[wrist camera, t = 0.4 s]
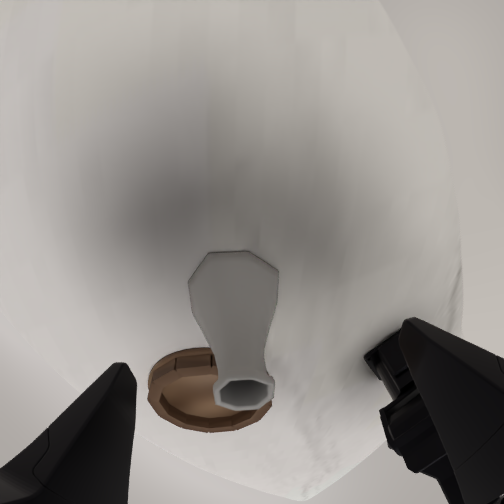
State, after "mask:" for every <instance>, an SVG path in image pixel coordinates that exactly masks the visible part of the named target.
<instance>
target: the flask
mask: <svg viewBox="0 0 504 504" xmlns="http://www.w3.org/2000/svg"><path fill="white" fill-rule="evenodd" d="M278 278H279V271H278V270H276V269H275V268H273V267H272V266H270V265H269V264H267V263H265V262H264V261H262V260H261V259H259V258H258V257H256V256H254V255H253V254H251V253H250V252H229V253H208V255H207V256H206V257H205V259H204V260H203V262H202V263H201V264H200V266H199V267H198V269H197V270H196V271H195V273H194V274H193V276H192V277H191V278H190V280H189V281H188V286H189V293H190V301H191V308H192V313H193V315H194V317H195V319H196V321H197V323H198V325H199V326H200V328H201V330H202V332H203V334H204V336H205V338H206V340H207V342H208V344H209V346H210V348H211V350H212V352H213V354H214V356H215V360H216V364H217V368H218V380H217V381H216V382H215V383H214V385H213V394H214V399H215V405H218V406H221V407H225V408H228V409H231V410H234V411H242V410H255V409H260V408H261V407H262V406H264V405H265V404H266V403H268V402H269V401H270V400H272V399H273V398H274V389H275V380H274V379H273V377H272V376H269V375H268V374H267V372H266V366H265V360H264V348H265V344H266V341H267V337H268V333H269V329H270V325H271V322H272V318H273V315H274V312H275V309H276V305H277V296H278Z"/></svg>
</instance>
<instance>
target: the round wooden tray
mask: <svg viewBox="0 0 504 504" xmlns="http://www.w3.org/2000/svg"><path fill="white" fill-rule="evenodd" d="M266 372H267V371H266ZM267 374H268V373H267ZM217 380H218V368H217V364H216V360H215V356H214V354H213V352H212V350H211V348H192V349H186V350H182V351H178V352H175V353H172V354H170V355H168V356H166V357H164V358H162V359H161V360H160V361H158V362H157V363H156V364H155V365H154V367H153V368H152V370H151V372H150V375H149V379H148V389H149V393H148V398H147V399H148V402H149V403H150V405H151V406H152V407H153V409H154V410H155V412H156V413H157V414H158V416H160V417H161V418H163V419H165V420H167V421H169V422H171V423H172V424H174V425H176V426H178V427H180V428H181V427H182V428H184V429H189V430H195V431H200V432H206V433H208V432H210V433H214V432H225V431H235V430H239V429H241V428H244V427H246V426H248V425H251V424H253V423H255V422H258V421H259V420H261V418H262V417H263V416H264V415H265V414H266V413H267V411H268V410H269V409H270V408H271V407H272V400H270V401H269V402H268V403H266V404H265V405H264V406H262V407H261V408H260V409H255V410H242V411H234V410H231V409H228V408H225V407H221V406H218V405H215V399H214V394H213V385H214V383H215V382H216V381H217Z"/></svg>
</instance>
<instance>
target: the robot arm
mask: <svg viewBox="0 0 504 504" xmlns="http://www.w3.org/2000/svg"><path fill="white" fill-rule="evenodd" d="M364 360H365V361H366V363H367V364H368V365H369V367H370V368H371V369H372V371H373V372H374V373H375V375H376V376H377V377H378V379H379V380H382V381H383V383H384V385H385V387H386V388H387V390H388V392H389V394H390V396H391V398H392V399H393V402H391V403H390V404H388V405H387V406H386V407H383V408H382V409H380V410H379V412H380V415H381V416H380V418H381V421H382V425H383V428H384V432H385V435H386V439H387V443H388V447H389V448H390V449H393V450H394V451H395V452H396V453H397V454H398V455H399V456H403V458H404V461H405V463H406V466H407V468H408V469H409V470H411V471H413V472H414V473H419V472H421V473H423V474H426V475H428V476H431V477H433V478H435V479H437V481H438V483H439V485H440V486H441V488H442V491H443V493H444V494H445V497H446V499H447V501H448V503H449V504H504V495H503V496H502V494H504V358H501V357H499V356H496V355H495V354H493V353H491V352H489V351H487V350H485V349H482V348H480V347H478V346H476V345H474V344H472V343H470V342H467V341H465V340H463V339H461V338H459V337H457V336H455V335H453V334H451V333H448V332H446V331H444V330H442V329H440V328H438V327H436V326H433V325H431V324H429V323H427V322H425V321H423V320H421V319H418V318H416V317H412V318H409V319H405V320H404V321H403V324H402V328H401V330H400V331H399V332H397V333H396V334H395V335H393V336H392V337H391V338H389V339H388V340H386V341H385V342H384V343H382V344H381V345H379V346H378V347H377V348H375V349H374V350H372V351H371V352H369V353H368V354H367V355H365V357H364ZM136 394H137V382H136V379H135V377H134V375H133V373H132V372H131V370H130V368H129V366H128V365H127V364H126V363H124V362H116V363H113V364H112V365H111V366H110V367H109V368H108V369H107V370H106V371H105V372H104V373H103V374H102V375H101V376H100V377H99V378H98V379H97V380H96V381H95V382H93V383H92V384H91V385H90V386H89V387H88V388H87V389H86V390H85V391H84V392H83V393H82V394H81V395H80V396H79V397H78V398H77V399H76V400H75V401H74V402H73V403H72V404H71V405H70V406H69V407H68V408H67V409H66V410H65V411H64V412H63V413H62V414H61V415H60V416H59V417H58V418H57V419H56V420H55V421H54V422H53V423H52V424H51V425H50V426H49V427H48V428H47V429H46V430H45V431H44V432H43V433H42V434H41V435H40V436H38V437H37V438H36V439H35V440H34V441H33V442H32V443H31V444H30V445H29V446H27V447H26V448H25V449H24V450H23V451H22V452H20V453H19V454H18V455H17V456H15V457H14V458H13V459H12V460H10V461H9V462H8V463H7V464H6V465H4V466H3V467H2V468H0V504H128V488H129V476H130V465H131V455H132V446H133V439H134V431H135V420H136Z"/></svg>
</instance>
